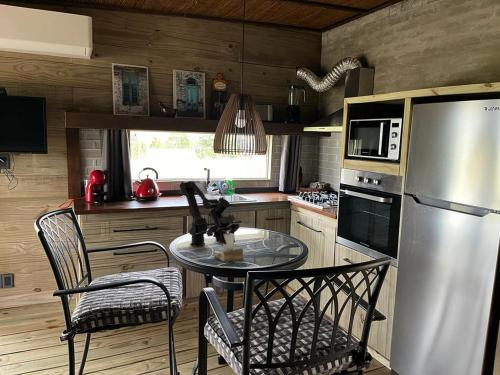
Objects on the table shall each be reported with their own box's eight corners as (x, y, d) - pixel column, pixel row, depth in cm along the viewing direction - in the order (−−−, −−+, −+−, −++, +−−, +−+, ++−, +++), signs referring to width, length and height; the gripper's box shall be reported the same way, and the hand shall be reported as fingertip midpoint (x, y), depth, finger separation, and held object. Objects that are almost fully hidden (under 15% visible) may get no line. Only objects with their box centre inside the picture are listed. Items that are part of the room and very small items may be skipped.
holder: (214, 257, 202) (214, 247, 201) (230, 253, 209) (231, 244, 209) (225, 262, 195) (226, 252, 194) (242, 258, 202) (242, 249, 201)
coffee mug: (220, 237, 241) (221, 221, 240) (231, 240, 236) (231, 224, 234) (207, 240, 232) (208, 224, 231) (217, 243, 227) (218, 227, 226)
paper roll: (220, 254, 202) (221, 233, 201) (228, 252, 206) (229, 231, 204) (226, 257, 198) (228, 235, 197) (235, 255, 202) (236, 234, 200)
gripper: (210, 211, 196) (222, 237, 189) (238, 208, 208) (251, 232, 201) (201, 223, 203) (212, 249, 196) (229, 219, 215) (240, 243, 208)
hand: (230, 243), depth 200 cm, fingers closed on paper roll, 5 cm apart
